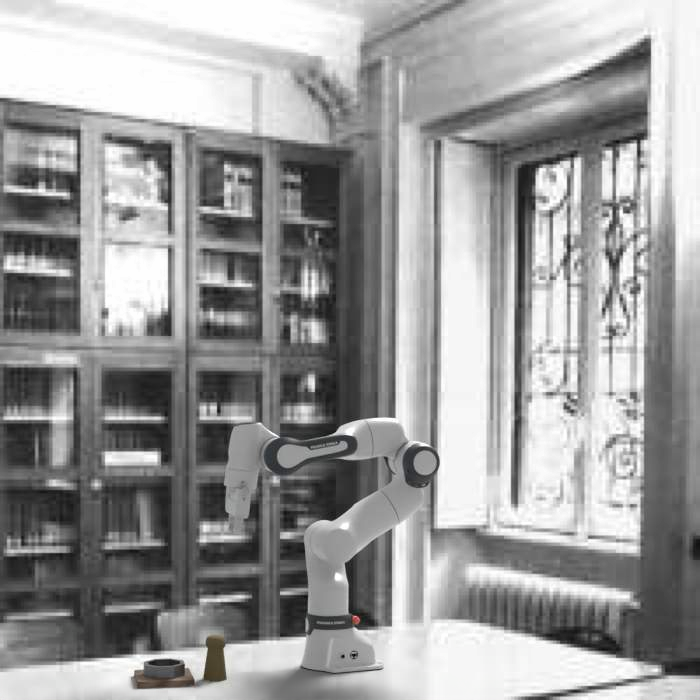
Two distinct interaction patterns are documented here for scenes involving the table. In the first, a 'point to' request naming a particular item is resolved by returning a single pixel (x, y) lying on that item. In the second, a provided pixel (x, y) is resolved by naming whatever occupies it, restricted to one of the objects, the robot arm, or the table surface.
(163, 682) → the walnut base
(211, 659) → the cork
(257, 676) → the table surface
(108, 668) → the table surface
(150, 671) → the metal collar
